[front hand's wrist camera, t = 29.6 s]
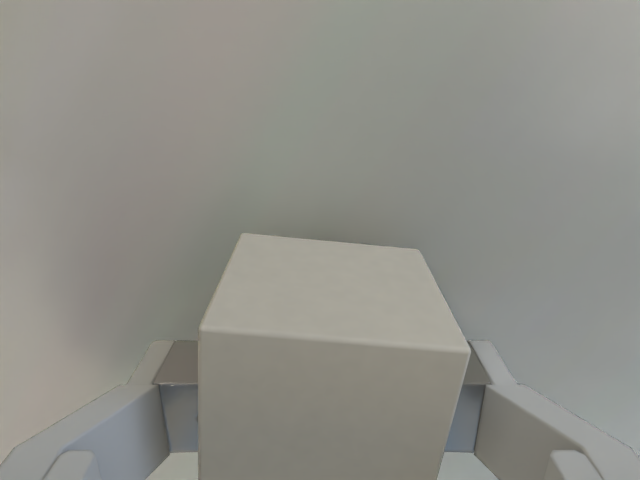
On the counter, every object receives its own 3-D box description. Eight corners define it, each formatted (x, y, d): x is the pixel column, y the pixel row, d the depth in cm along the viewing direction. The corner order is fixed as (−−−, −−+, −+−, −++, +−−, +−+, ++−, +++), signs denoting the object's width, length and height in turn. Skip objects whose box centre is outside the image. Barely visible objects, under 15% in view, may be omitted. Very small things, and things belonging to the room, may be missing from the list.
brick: (391, 391, 13) (423, 537, 9) (235, 378, 13) (197, 522, 9) (420, 248, 12) (474, 350, 8) (240, 231, 12) (196, 326, 7)
